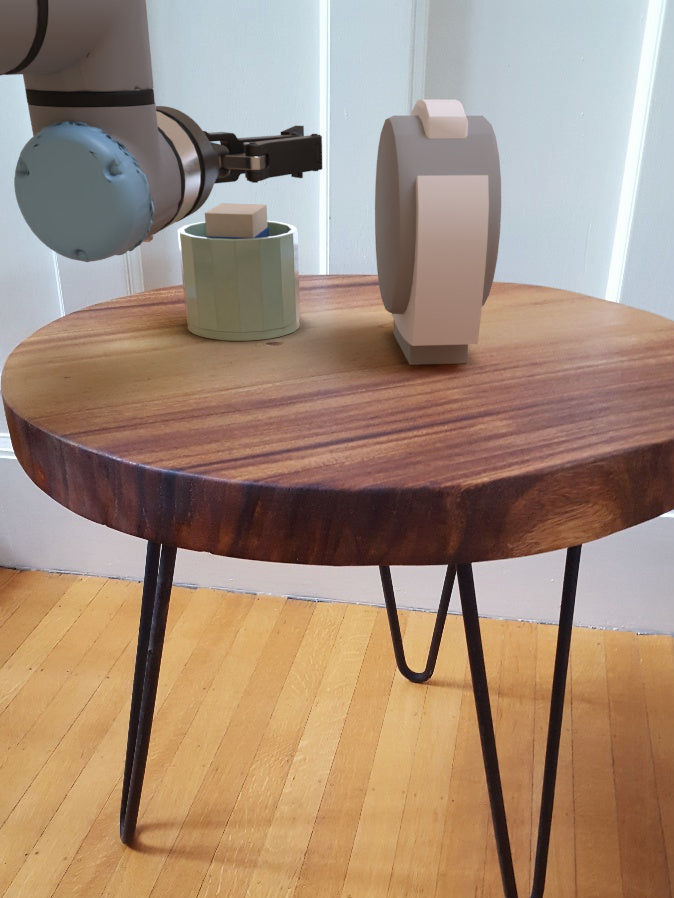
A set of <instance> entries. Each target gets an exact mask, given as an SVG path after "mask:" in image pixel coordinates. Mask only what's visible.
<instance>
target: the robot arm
mask: <svg viewBox="0 0 674 898" xmlns="http://www.w3.org/2000/svg"><path fill="white" fill-rule="evenodd" d="M150 43H151V42H150V33H149V22H148V10H147V0H0V76H11V75H12V76H16V75H17V76H18V75H22V77H23V84H24V89H25V90H24V91H25V97H26V103H27V107H28V113H29V120H30V125H31V131H32V132H31V133H32V137H31V138H30V139H29V140H28V141H27V142H26V143H25V145H24V147H22V149H21V151H20V153H19V157H18V159H17V163H16V165H15V170H14V179H13V185H14V194H15V199H16V203H17V206H18V208H19V211H20V213H21V216H22V217H23V219H24V221H25V223H26V224H27V226H28V227H29V229H30V230H31V232H32V233H33V234H34V235H35V236H36V238H37V239H38V240H39V241H40V242H41V243H42V244H44V245H45V247H47V248H49V249H50V250H52V251H53V252H54V253H56V254H58V255H60V256H63V257H65V258H66V259H70V260H73V261H80V262H84V263H90V262H98V261H103V260H107V259H108V258H112V257H115V256H122V255H125V254H126V253H127V252H132V251H134V250H135V249H136V248H138V247H139V246H141V245H142V244H143V243H150V242H151V241H152V240H154V235H155V234H157V233H159V232H161V231H163V230H164V229H167V228H168V227H170V226H172V225H173V224H175V223H178V222H180V221H182V220H184V219H186V218H187V217H189V216H191V215H192V214H194V213H196V212H197V211H198V210H199V209H201V207H203V205H205V203H206V202H207V200H208V199H209V197H210V196H211V193H212V191H213V189H214V186H215V184H226V183H235V182H236V181H238V180H239V178H240V176H241V175H244V177H245V179H246V181H247V182H249V183H250V182H251V183H253V184H255V183H259V182H262V181H264V180H267V179H272V178H276V177H284V176H289V175H290V176H291V178H294V179H295V178H296V179H303V178H304V173H307V172H319V171H321V170H323V135H321V134H318V133H311V134H310V135H305V127H304V125H294V126H291V127H289V128H287V129H284V130H282V131H280V134H278V135H262V136H261V135H260V136H247V137H237V134H236V133H233V132H227V131H217V132H216V131H215V132H213V131H212V132H208V131H206V130H203V129H202V128H201V126H200V125H199V124H198V123H197V122H196V121H195V119H193V118H192V117H191V116H189V115H187V114H186V113H185V112H183V111H181V110H180V109H177V108H174V107H171V106H165V105H157V104H156V101H155V90H154V78H153V77H154V76H153V67H152V54H151V45H150ZM216 142H219V143H216Z"/></svg>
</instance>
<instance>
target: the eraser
mask: <svg viewBox="0 0 674 898" xmlns="http://www.w3.org/2000/svg"><path fill="white" fill-rule="evenodd" d="M267 209H268V206H267V204H264V203H263V204H257V203H230V202H229V203H227V202H223V203H222V202H221V203H220V204H218V205H216V206H213V208H211V209H209V210H207V211H206V212H204V222H205V224H206V236H205V237H207V238H221V239H247V238H262V237H269V227H268V225H267V221H268V211H267Z"/></svg>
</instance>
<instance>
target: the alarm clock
mask: <svg viewBox="0 0 674 898" xmlns="http://www.w3.org/2000/svg"><path fill="white" fill-rule="evenodd" d="M378 141H379V142H378V146H377V147H378V148H377V157H376V168H375V186H374V187H375V188H374V235H375V236H374V238H375V240H374V241H375V258H376V270H377V281H378V287H379V292H380V293H379V294H380V298H381V301H382V304H383V306H384V309H385V310H386V311H387V312H388V313H390V314H391V316H392V319H393V326H392V327H393V329H392V330H393V332H392V333H393V335H394V338H395V340H396V341H397V344H398V346H399V347H400V349H401V351H402V354H403V355H404V357H405V359H406V361H407V363H408V364H409V366H412V365H447V364H449V365H451V364H467V363H468V350H469V345H479V344H478V343H479V336H480V327H481V317H482V309H483V307H484V306H485V304H486V302H487V301H488V298H489V296H490V293H491V289H492V286H493V283H494V280H495V279H494V278H495V273H496V267H497V262H498V258H499V257H498V256H499V255H498V254H499V246H500V239H501V238H500V237H501V220H502V218H501V217H502V177H501V176H502V175H501V162H500V152H499V147H498V142H497V136H496V134H495V131H494V128H493V125H492V124H491V123H490V122H489V120H488V119H487V118H486V117H484V116H483V115H467V113H466V111H465V108H464V106H463V104H462V102H461V101H459V100H458V99H427V98H425V99H417V100H416V102H415V104H414V105H413V109H412V111H411V113H410V115H392V116H389V117H388V118H386V119H385V120H384V123H383V125H382V128H381V131H380V137H379V140H378Z"/></svg>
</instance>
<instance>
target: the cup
mask: <svg viewBox="0 0 674 898" xmlns="http://www.w3.org/2000/svg"><path fill="white" fill-rule="evenodd" d="M267 225H268V227H269V237H262V238H247V239H221V238H207V237H205V236H206V224H205V221H199V222H194V223H189V224H185V225H183V226H181V227H180V228H178V229H177V236H178V237H177V238H178V247H179V258H180V259H179V260H180V269H181V279H182V291H183V301H184V312H185V318H186V323H187V330H188V331H189V332H190V333H192V334H193V335H195V336H198V337H202V338H206V339H211V340H219V341H231V342H234V341H235V342H246V341H247V342H250V341H261V340H267V339H268V340H269V339H276V338H280V337H284V336H287V335H290V334H292V333H294V332H296V331H297V330H298V329H299V328H300V326H301V325H300V318H301V294H300V291H301V290H300V264H299V261H300V260H299V233H298V228H297V227H296V226H295V225H293V224H289V223H287V222H286V223H285V222H282V221H273V220H267Z"/></svg>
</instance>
